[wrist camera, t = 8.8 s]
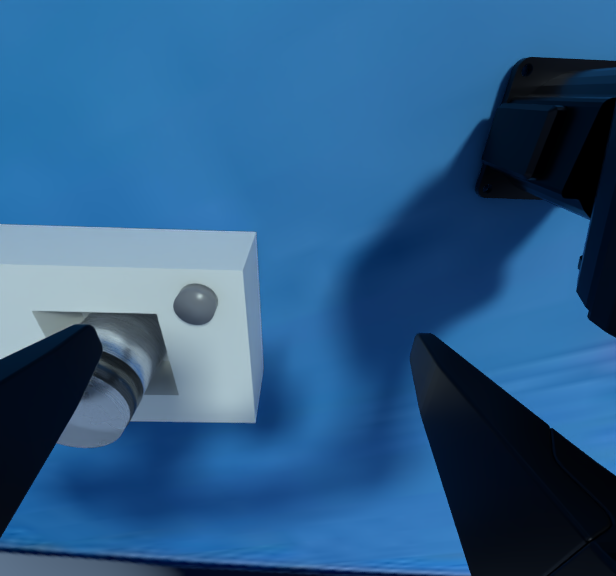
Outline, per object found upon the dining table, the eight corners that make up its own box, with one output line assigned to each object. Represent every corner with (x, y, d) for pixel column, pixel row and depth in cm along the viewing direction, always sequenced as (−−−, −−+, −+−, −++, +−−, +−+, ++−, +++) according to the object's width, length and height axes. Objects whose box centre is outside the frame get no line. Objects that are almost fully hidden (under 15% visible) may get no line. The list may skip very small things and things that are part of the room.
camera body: (256, 232, 19) (239, 279, 15) (263, 368, 26) (254, 433, 21) (-7, 224, 19) (-116, 269, 14) (66, 365, 25) (9, 430, 20)
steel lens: (169, 293, 19) (108, 378, 13) (181, 354, 22) (136, 449, 16) (85, 290, 19) (-14, 375, 13) (107, 352, 22) (34, 447, 16)
